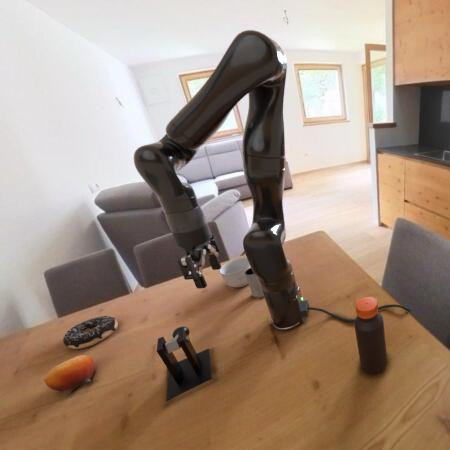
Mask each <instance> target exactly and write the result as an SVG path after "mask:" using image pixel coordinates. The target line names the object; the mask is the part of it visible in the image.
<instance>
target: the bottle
mask: <svg viewBox="0 0 450 450" xmlns="http://www.w3.org/2000/svg"><path fill="white" fill-rule="evenodd" d="M378 307H379V305H378V301H377V299H376V298H375V297H372V296H363V297H361V298H359V299H358V300H357V301H356V303H355V311H356V317H355V318H354V319H355V321H354V322H353V325H354V332H355V337H356V343H357V350H358V356H359V363H360V368H361V370H362V371H363V373H365V374H367V375H369V376H376V375H379V374H381V373H383V371H384V370H385V369H386V367H387V365H388V356H387V355H388V353H387V344H386V334H385V325H384V317H383V315H382V313H380V312H379V310H378Z"/></svg>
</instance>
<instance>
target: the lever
mask: <svg viewBox="0 0 450 450" xmlns="http://www.w3.org/2000/svg"><path fill="white" fill-rule="evenodd" d="M181 329H184V330H185V332H186V334H187V336H189V335H190V333H191V332H190V329H189V328H188V327H187V326H184V325H183V326H177V328H175V329H174V330H173V331H172V338H170V339H168V340H166V343H165V346H166V348H167V351H168V353H171V352H176V351H177V350H180V349H182V348H181V346H180V344H179V343H178V336H179V330H181ZM189 337H190V336H189Z"/></svg>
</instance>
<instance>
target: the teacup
mask: <svg viewBox="0 0 450 450" xmlns="http://www.w3.org/2000/svg"><path fill="white" fill-rule="evenodd" d="M249 268H251V267H250V264H249V262H248V259H247V257H246V254H245V255H243V257H238V258H235V259H232V260H230V261H227V262H226V263H225V264H223V265H221V268H220V269H219V274H220V275H221V276H222V279H223V281H224V283H225V284H226V285H227V286H228V287H231V288H243V287H245V286H247V285H249V284H248V281H247V278H246V275H245V271H246V270H248V269H249Z"/></svg>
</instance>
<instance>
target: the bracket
mask: <svg viewBox="0 0 450 450" xmlns="http://www.w3.org/2000/svg"><path fill="white" fill-rule="evenodd" d="M190 339H191V338H190V336H187V334H186V332H185V330H184V329H181V330H179V336H178V343H179V344H180V346H181V348H180V349H182V351H183V353H184V355H185V357H186V358H184V359H182V360H178V359H177V358H176V356H175V354H174V353H173V352H174V351H173V352H171V353H168V351H167V348H166V346H165V343H166V342H167V340H166V338H164V336H161V337H159V338H157V344H156V352H157V354H158V356H159V357H160V360H161V361H162V362H163V364H164V366H165V367H166V368H167V371H168V372H167V387H166V401H167V402H168V401H170V400H173V398H177V396H180V395H182V394H184V393H186V392H188V391H190V390H192V389H194V388H196V387H198V386H200V385H203V384H204V383H206V382H208V381H210V380H212V379H213V376H212V365H211V355H210V353H211V352H210V348H206V349H204V350H202V351H200V352H197V351H196V348H195V347H194V345H193V344H192V341H191V340H190Z"/></svg>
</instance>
